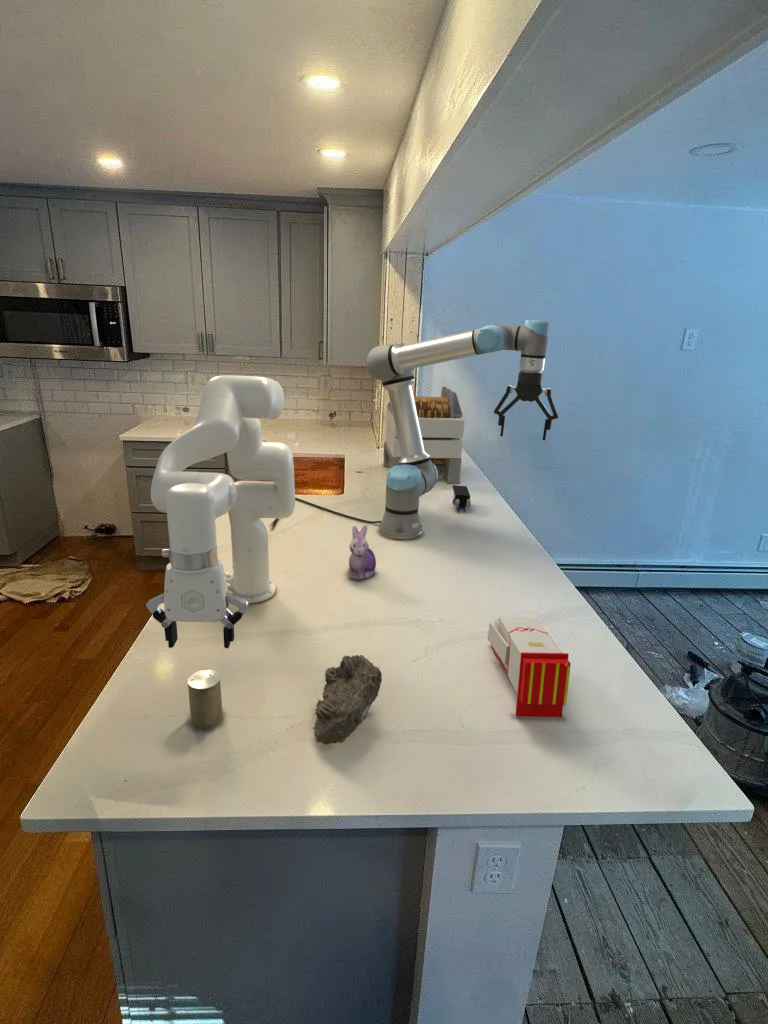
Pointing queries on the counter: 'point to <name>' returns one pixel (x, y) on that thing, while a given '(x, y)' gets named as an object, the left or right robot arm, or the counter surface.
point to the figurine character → (461, 497)
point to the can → (205, 699)
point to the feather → (275, 522)
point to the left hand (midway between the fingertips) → (200, 643)
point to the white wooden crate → (433, 433)
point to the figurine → (361, 555)
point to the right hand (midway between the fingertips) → (522, 437)
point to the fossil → (346, 698)
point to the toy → (531, 665)
